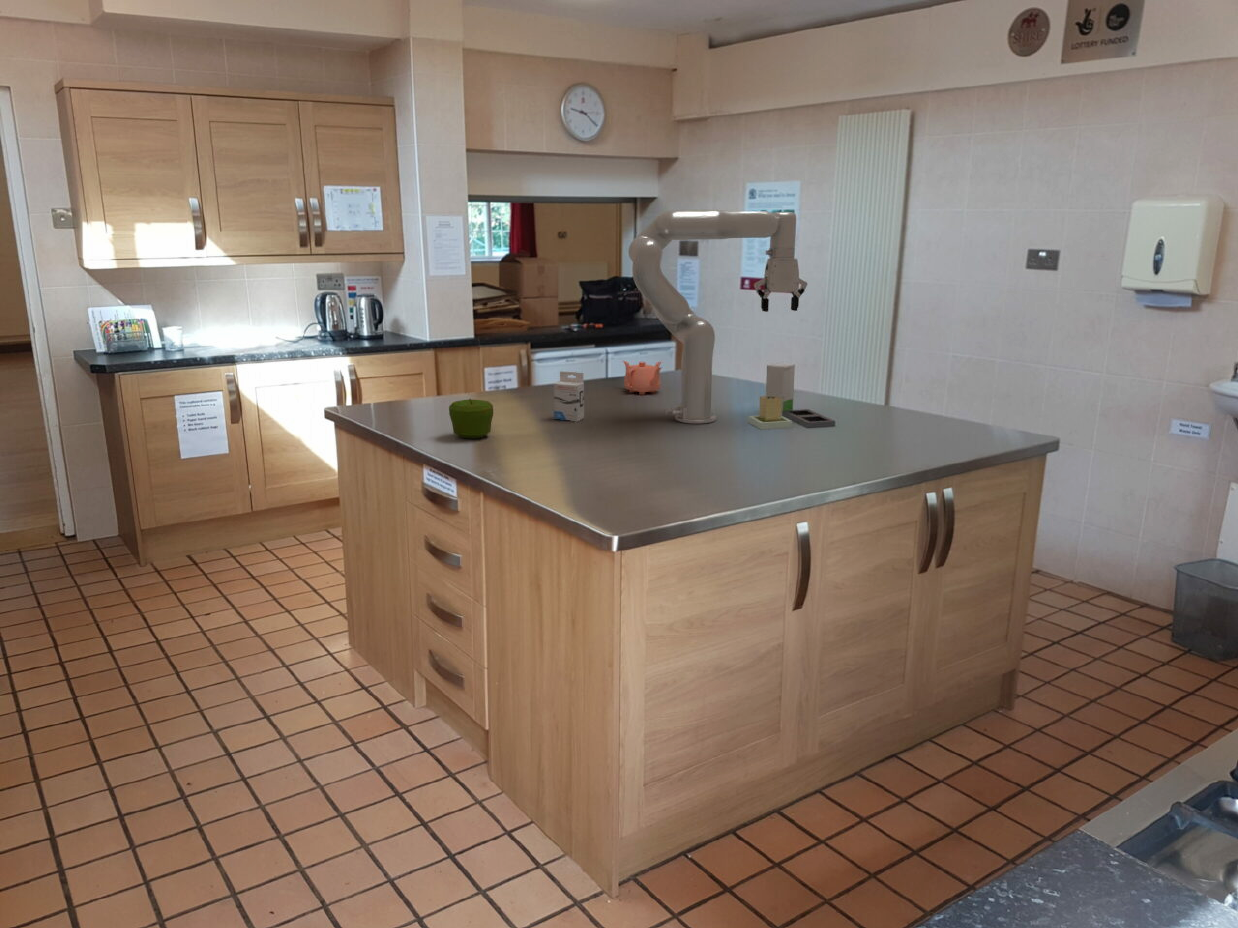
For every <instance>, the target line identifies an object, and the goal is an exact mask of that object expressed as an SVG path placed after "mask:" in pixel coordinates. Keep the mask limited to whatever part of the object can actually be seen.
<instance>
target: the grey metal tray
mask: <svg viewBox="0 0 1238 928" xmlns="http://www.w3.org/2000/svg"><path fill="white" fill-rule="evenodd" d="M781 416H783V417H785V418H787V419H789V420H791V421H793V422H794V423H796V424H798V425H800V426H802V427H804V428H806V429H812V428H813V429H816V428H818V429H819V428H833V427H836V420H833V419H832V418H830V417H827V416H825V415H823V414H821V413H818V412H816V411H813V410H811V409H808V408H807V409H805V408H804V409H793V410H786V411H782V414H781Z"/></svg>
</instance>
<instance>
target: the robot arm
mask: <svg viewBox="0 0 1238 928" xmlns="http://www.w3.org/2000/svg"><path fill="white" fill-rule="evenodd" d="M796 233H797V215H796V213H795V212H792V211H790V212H789V211H776V212H771V211H765V210H764V211H763V210H760V211H759V210H758V211H757V210H756V211H731V210H722V209H686V210H684V209H683V210H682V209H675V210H674V209H673V210H671V209H670V210H665V211H663V212H661V213H659V215H658V216H656V217H654V219H653V220H652V221H651V222H650V223H649V224H648V225H647V226H646V227H645V228H644V229H643V230H642V231H641V232H640V233H639V234H638V235H637V236H636V237H634V239H633V240H632V241H631V243H629V247H628V257H629V259H630V260H631V262H632V277H633V282H634V283H635V286H636V288H637V289H638V291H639V292H640V293H641V294H642V295H643V297H644V298H645V299H646V301H648V302H649V304H650V305H651V306H652V307H651V308H652V311H653V313H654V315H655V317H656V319H658V320H659V321H660V323H662V325H663V326H664V327H665V328H666V329H667V330H668V332H669V333H671V334H672V335H673V336H674V337H675V339H676V340H678V341H679V342H680V343H681V344H682V353H681V360H680V361H681V362H680V404H677V406H676V407H675V406H674V407H673V408H670V407H669V408H668V407H667V408H665V409H664V410H665V412H664V413H665V415H672V416H675V417H674V418H675V421H676V422H680V423H684V424H696V425H697V424H699V425H700V424H708V423H714V422H715V421H716V420H717V415H715V414H714V413H713V414H712V385H713V384H712V383H713V382H712V381H713V379H712V378H713V377H712V376H713V355H714V348H715V347H714V346H715V340H716V335H715V330H714V326H712V324H711V323H710V322H709V321H708V320H706V319H704V318H702V317H699V316H698V315H697V314H696V313H695V312H694V311H693V310H692V309H691V308H690V305H689V303H688V299H686V297H685V296H684V295H683V294H681V293H680V292H679V291H678V290H677V288H675V287H674V285H673V284H672V283H671V282H670V281H669V279H668V278H667V277H666V276H665V275H664V273H663V271H662V268H661V263H662V261H661V260H662V258H663V250H664V249H665V248H666V247H667V246H668V245H669V244H670V243H671V242H672V241H673V240H675V241H677V240H679V241H686V240H687V241H688V240H689V241H691V240H692V241H693V240H726V239H727V240H728V239H751V238H752V239H762V238H763V239H765V238H769V237H770V239H769V247H768V250H767V249H766V250H765V255H768V257H769V258H767V260H766V264H765V269H764V274H763V275H764V276H763V278H762V279H760V280H758V281H756V282H755V283H754V284H753V287H754V289H755V292H756V293H757V295H758V296H759V297H760V298H761V299H760V300H761V303H760V304H761V305H760V309H761V311H762V312H767V313H768V312H769V304H770V303H769V302H770V299H769V298H768V297H769V296H770V294H772V293H790V294H792V296H791V300H790V310H791V311H794V312H796V311H798V309H799V303H800V301H799V300H800V299H799V298H801V296H802V295H803V294H804V293H805V290H806V288H807V286H808V282H807V281H804V280H803V279H801V278H800V270H799V261H798V258H795V257H796V256H795V254H796V236H797V234H796ZM761 286H763V289H761Z"/></svg>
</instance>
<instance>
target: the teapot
mask: <svg viewBox="0 0 1238 928" xmlns="http://www.w3.org/2000/svg"><path fill="white" fill-rule="evenodd" d="M622 362H623V363H624V365H625V374H624V379H623V380H624V381H623V386H624V388H625V389H626V390H629V391H628V393H631V394H633V393H636V392H639V394H638V395H640V396H642V395H643V396H645V395H646V393H647V392H649V393H651V394H655V393H656V391H658V390H659V389H660V388H661V385H662V383H661V376H660V371H661V370H662V369H663V367H660V365H661V364H662V361H658V362H656V364H655V365H651V364H647V362H646V361H639V362H638V364H633V365H630V364H629V362H628V361H625V360H622Z"/></svg>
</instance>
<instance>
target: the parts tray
mask: <svg viewBox="0 0 1238 928" xmlns="http://www.w3.org/2000/svg"><path fill="white" fill-rule="evenodd" d="M747 419H748V420H747V423H748V424H750V425H752V426H754V427H756V428H757V429H759V430H763V431H764V430H776V429H791V428H792V429H793V422H794V421H792V420H790V419H788V418H785V417H783V416H782V415H781V421H776V422H762V421H760V420H759V415H748V418H747Z"/></svg>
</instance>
